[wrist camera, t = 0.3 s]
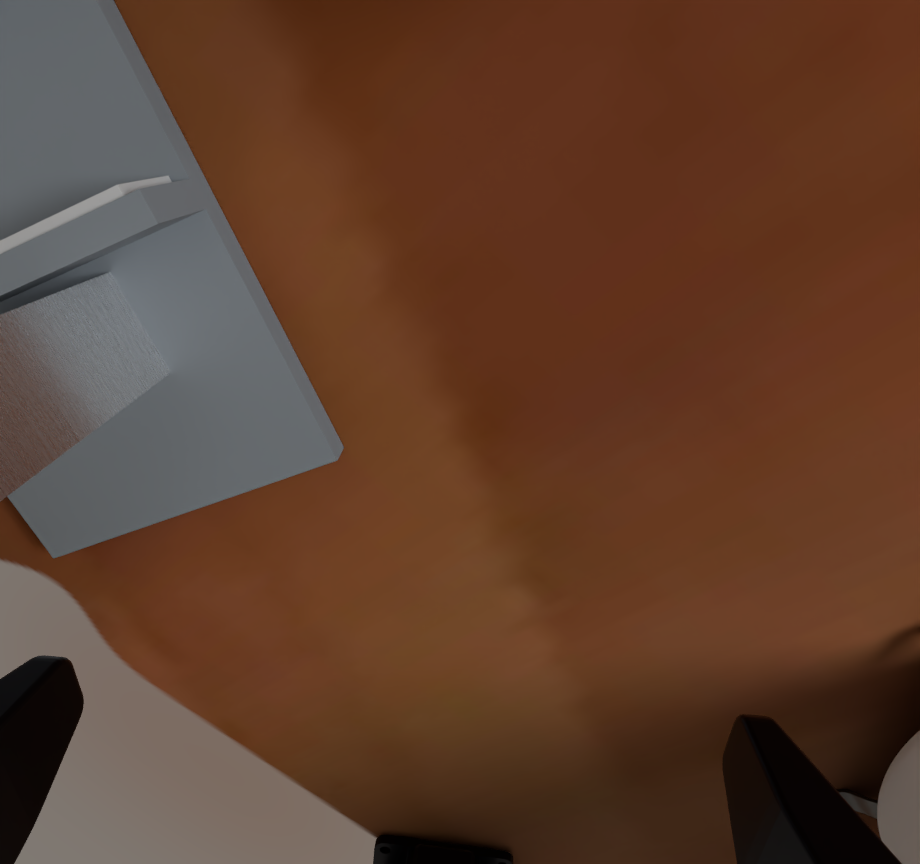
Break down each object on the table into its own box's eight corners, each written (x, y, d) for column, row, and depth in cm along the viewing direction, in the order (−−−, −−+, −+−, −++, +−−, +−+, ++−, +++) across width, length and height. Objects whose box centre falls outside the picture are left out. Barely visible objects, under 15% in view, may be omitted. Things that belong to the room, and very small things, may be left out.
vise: (344, 447, 24) (309, 514, 20) (68, 543, 27) (-11, 620, 23) (38, -146, 18) (-103, -224, 14) (-287, 56, 20) (-487, 41, 16)
